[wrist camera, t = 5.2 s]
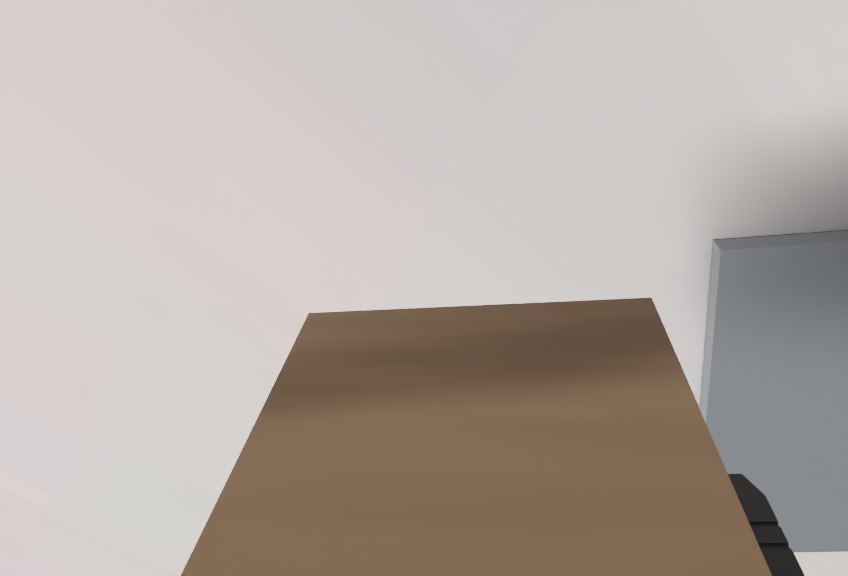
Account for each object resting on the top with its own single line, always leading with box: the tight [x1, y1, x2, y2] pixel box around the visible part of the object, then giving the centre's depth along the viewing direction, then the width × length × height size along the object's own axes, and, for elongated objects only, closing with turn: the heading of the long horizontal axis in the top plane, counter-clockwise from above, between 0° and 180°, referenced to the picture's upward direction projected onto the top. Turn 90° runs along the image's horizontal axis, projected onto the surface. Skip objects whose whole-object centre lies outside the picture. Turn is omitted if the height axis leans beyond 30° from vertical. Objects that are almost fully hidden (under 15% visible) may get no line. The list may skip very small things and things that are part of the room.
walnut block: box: [181, 298, 772, 576], centre depth 11 cm, size 6×6×6 cm
